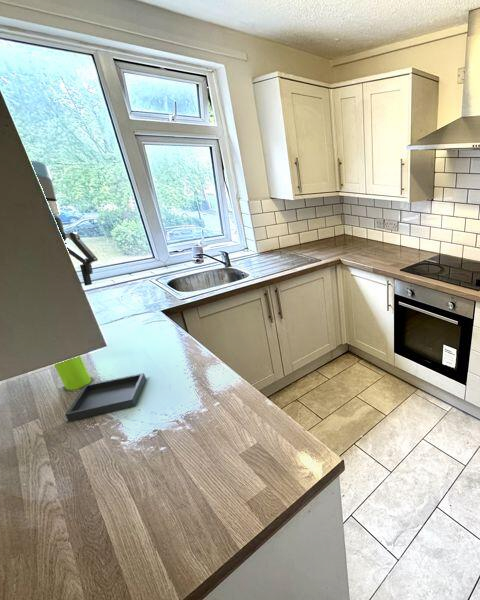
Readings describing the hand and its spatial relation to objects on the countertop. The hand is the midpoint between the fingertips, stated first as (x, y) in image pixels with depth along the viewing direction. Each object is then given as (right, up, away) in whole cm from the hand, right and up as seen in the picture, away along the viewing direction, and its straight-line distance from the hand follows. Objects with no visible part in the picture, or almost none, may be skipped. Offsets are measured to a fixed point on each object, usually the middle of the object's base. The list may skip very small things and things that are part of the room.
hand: (60, 286), depth 102 cm
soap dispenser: (+6, -31, 0) cm, 31 cm away
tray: (+21, -33, -6) cm, 39 cm away
